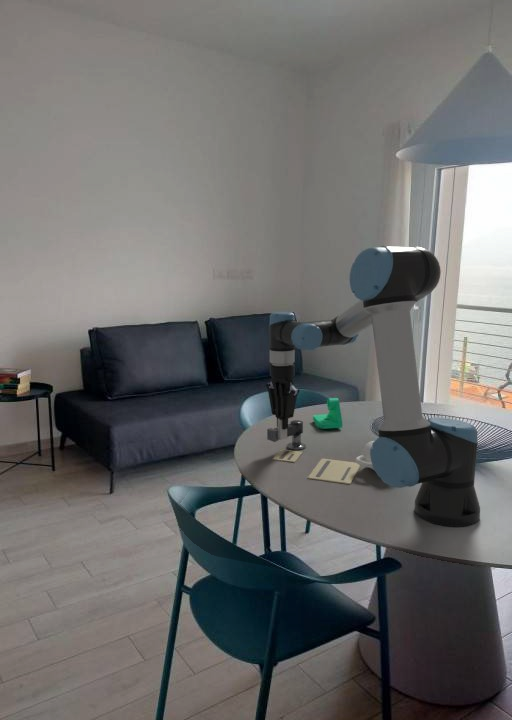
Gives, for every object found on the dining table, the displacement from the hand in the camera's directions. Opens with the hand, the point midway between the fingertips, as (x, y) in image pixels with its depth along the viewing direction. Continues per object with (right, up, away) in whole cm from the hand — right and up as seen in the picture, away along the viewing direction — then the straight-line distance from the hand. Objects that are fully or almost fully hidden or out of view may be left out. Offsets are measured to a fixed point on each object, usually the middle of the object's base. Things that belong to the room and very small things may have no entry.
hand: (282, 438), depth 180 cm
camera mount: (+18, 0, +31) cm, 36 cm away
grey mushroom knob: (+5, -4, +9) cm, 11 cm away
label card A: (+2, -6, 0) cm, 6 cm away
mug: (+26, -8, -13) cm, 30 cm away
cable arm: (+1, 0, +5) cm, 5 cm away
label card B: (+15, -8, -12) cm, 20 cm away
